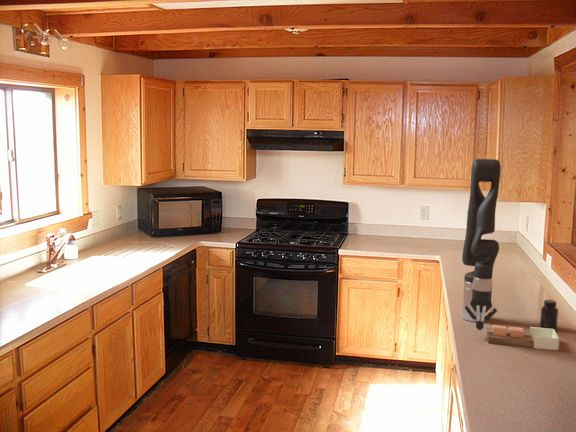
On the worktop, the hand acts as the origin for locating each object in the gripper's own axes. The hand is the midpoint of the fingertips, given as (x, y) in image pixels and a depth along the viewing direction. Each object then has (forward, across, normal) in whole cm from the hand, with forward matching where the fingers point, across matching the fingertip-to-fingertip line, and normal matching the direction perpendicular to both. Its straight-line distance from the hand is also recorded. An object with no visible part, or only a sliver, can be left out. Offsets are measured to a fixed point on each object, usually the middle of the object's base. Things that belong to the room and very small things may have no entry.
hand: (479, 329), depth 252 cm
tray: (+4, -25, 0) cm, 25 cm away
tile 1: (+1, -8, 0) cm, 8 cm away
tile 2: (+1, -14, 0) cm, 14 cm away
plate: (+4, -12, 0) cm, 12 cm away
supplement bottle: (+4, -30, -21) cm, 37 cm away
